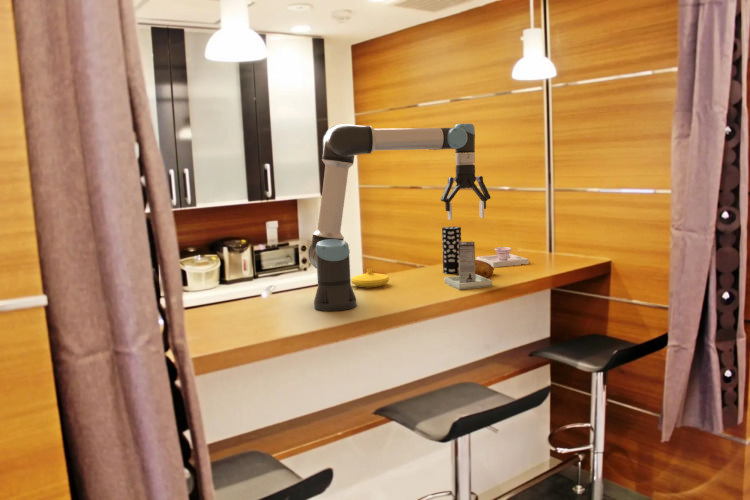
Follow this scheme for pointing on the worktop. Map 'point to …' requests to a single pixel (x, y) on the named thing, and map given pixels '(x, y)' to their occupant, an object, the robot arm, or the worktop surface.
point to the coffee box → (466, 262)
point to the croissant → (482, 269)
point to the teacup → (502, 254)
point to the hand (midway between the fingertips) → (465, 218)
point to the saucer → (518, 261)
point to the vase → (370, 279)
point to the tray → (478, 283)
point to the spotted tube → (451, 249)
